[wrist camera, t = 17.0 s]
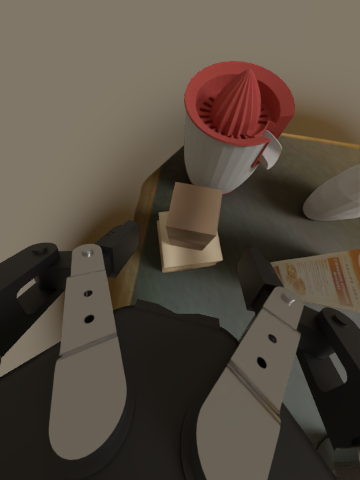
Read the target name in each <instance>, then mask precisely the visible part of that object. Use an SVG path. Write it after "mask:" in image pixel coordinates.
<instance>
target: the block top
mask: <svg viewBox="0 0 360 480" xmlns="http://www.w3.org/2000/svg"><path fill="white" fill-rule="evenodd" d="M168 214H169V211H168V212H159V221H160V231H161V241H162V251H163V261H164V268H165V269H173V268H181V267H189V266H196V265H204V264H212V263H217V262H219V261H222V260H223V258H222V253H221V248H220V243H219V237H218V232H217V235H216V236H215V238H214V239H213V240H212V241H211V242H210V243H209V244H208V245H207V246H206V247H205V248H204V249H203V250H202V251H199V250H194V249H188V248H183V247H178V246H172V245H170V242H169V238H168V234H167V229H166V222H167V218H168Z"/></svg>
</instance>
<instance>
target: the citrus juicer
mask: <svg viewBox="0 0 360 480" xmlns="http://www.w3.org/2000/svg"><path fill="white" fill-rule="evenodd" d="M184 103H185V108H186V121H185V141H184V142H185V143H184V159H185V165H186V170H187V174H188V177H189V179H190V182H191V183H192V185H196V186H202V187H208V188H213V189H219V190H223V191H222V195H225V194H227V193H230V192H231V191H233V190H235V189H236V188H237V187H238V186H240V185H241V184H242V183H243V182H244V181H245V180H246V179H247V178H249V176H250V175H251V174H252V173H253V172H254V170H255V169H256V168H257V166H258V165H259V163H261V164H263V165H264V166H265V167H266V168H267V169H270V168H271V167H272V166H273V165H274V164H275V163H276V161H277V159H278V158H279V155H280V153H281V150H282V147H281V145H280V143H279V142H278V140H277V139H278V137H279V136H280V135H281V133H282V132H283V130H284V129H285V127H286V126H287V124H288V123H289V122H290V120H291V119H292V117H293V116H294V109H295V104H294V99H293V96H292V94H291V92H290V90H289V88H288V87H287V85H286V84H285V83H284V82H283V81H282V80H281V79H280V78H279V77H278V76H277V75H275V74H274V73H272V72H271V71H269V70H267V69H265V68H263V67H260V66H258V65H255V64H251V63H246V62H237V61H230V62H221V63H217V64H213V65H211V66H208V67H206V68H204V69H203V70H201V71H199V72H198V73H197V74H196V75H195V76H194V77H193V78H192V79H191V81H190V82H189V84H188V86H187V89H186V92H185V99H184Z"/></svg>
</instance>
